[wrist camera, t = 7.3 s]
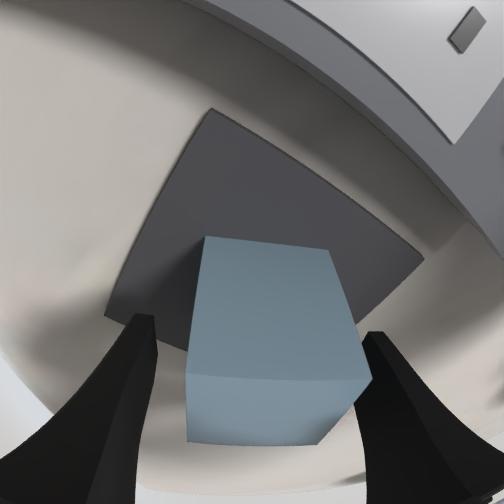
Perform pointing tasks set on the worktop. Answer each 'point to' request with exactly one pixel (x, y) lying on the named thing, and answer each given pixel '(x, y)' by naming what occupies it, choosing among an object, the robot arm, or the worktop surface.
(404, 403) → the robot arm
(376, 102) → the power strip
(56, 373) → the worktop surface
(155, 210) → the mat
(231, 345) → the block
